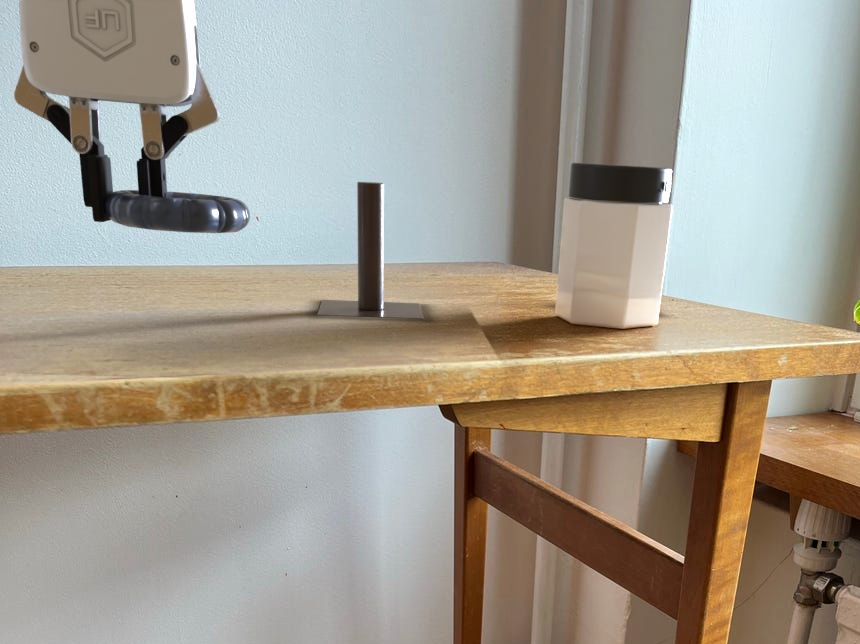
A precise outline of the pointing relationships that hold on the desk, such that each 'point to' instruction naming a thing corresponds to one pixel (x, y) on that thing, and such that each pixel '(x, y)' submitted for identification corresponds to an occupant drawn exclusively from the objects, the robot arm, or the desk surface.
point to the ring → (177, 212)
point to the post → (370, 264)
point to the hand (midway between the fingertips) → (127, 219)
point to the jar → (613, 245)
